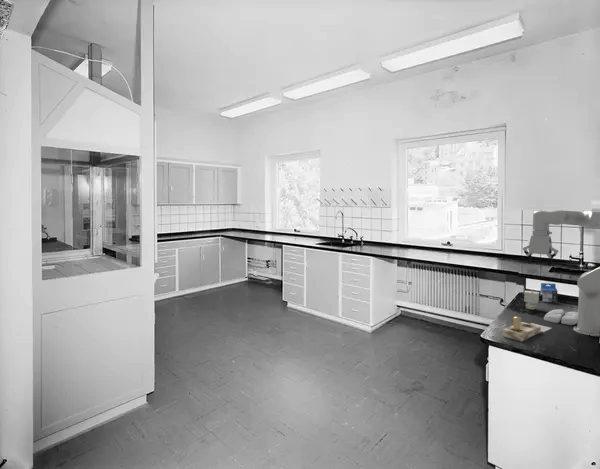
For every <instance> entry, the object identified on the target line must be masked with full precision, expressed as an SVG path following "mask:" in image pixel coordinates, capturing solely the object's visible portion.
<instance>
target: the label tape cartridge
mask: <svg viewBox="0 0 600 469" xmlns="http://www.w3.org/2000/svg"><path fill="white" fill-rule="evenodd" d="M540 294H542V295H543V301H541V303H554V304H555V303H558V290H557V287H556V283H549V282H547V283H546V282H545V283H544V282H541V283H540Z"/></svg>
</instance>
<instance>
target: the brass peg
mask: <svg viewBox="0 0 600 469" xmlns="http://www.w3.org/2000/svg"><path fill="white" fill-rule="evenodd" d="M521 322H522V317H520V316H513V325H512V326H513V331H516V332H520V324H521Z"/></svg>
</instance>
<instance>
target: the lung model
mask: <svg viewBox="0 0 600 469" xmlns="http://www.w3.org/2000/svg"><path fill="white" fill-rule="evenodd" d="M577 319H578V311H568V312H565V311H564V309H552V310H549V311H548V312H547V313H546V314H544V316H543V320H544V321H546V322H551V323H555V324H558V323H560V324H562V325H567V326H569V325H570V326H573V325H574V326H575V325H576V324H577Z"/></svg>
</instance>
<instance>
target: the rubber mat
mask: <svg viewBox="0 0 600 469" xmlns="http://www.w3.org/2000/svg"><path fill="white" fill-rule="evenodd" d="M530 324H533V325H537V326H541V332H543V333H545V332H547V331H549V330H551V329H552V327H550V326H545V325H541V324H537V323H533V322H531V323H530Z"/></svg>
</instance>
